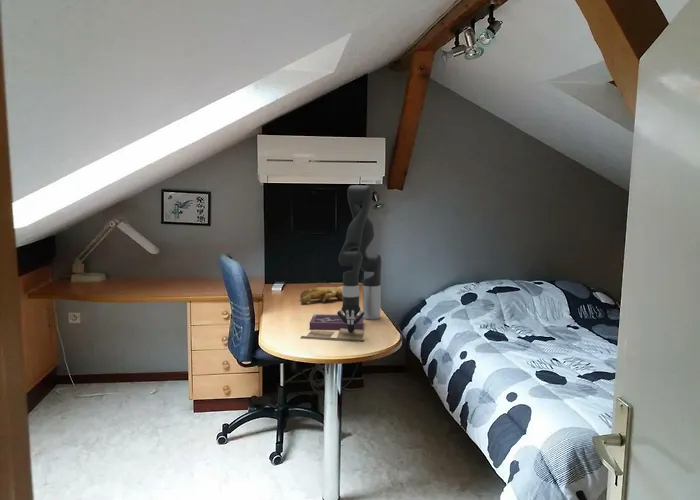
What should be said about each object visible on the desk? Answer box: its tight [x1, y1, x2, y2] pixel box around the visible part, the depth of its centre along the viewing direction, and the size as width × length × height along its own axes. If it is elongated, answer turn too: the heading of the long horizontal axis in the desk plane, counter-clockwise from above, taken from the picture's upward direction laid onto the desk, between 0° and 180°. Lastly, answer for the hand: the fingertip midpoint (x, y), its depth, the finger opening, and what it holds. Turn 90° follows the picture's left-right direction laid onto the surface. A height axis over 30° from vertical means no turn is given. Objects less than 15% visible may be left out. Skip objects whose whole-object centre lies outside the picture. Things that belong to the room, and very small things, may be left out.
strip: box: [299, 335, 365, 343], centre depth 241 cm, size 3×29×2 cm, turn 78°
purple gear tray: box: [309, 313, 365, 331], centre depth 264 cm, size 25×16×5 cm, turn 87°
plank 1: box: [306, 329, 335, 338], centre depth 248 cm, size 9×11×1 cm
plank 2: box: [336, 329, 365, 339], centre depth 245 cm, size 9×11×1 cm
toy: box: [300, 285, 343, 305], centre depth 320 cm, size 14×9×30 cm
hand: (351, 331), depth 247 cm, fingers closed
